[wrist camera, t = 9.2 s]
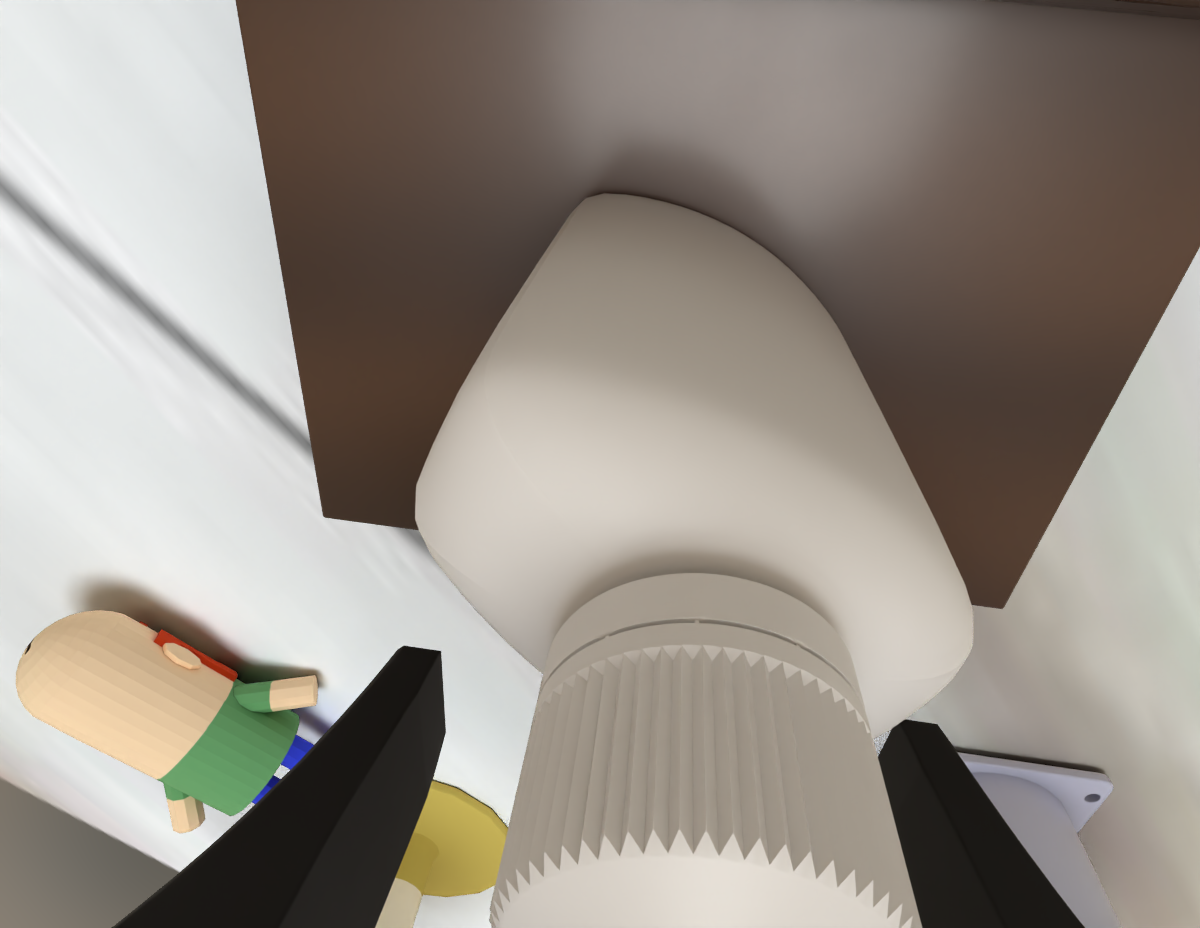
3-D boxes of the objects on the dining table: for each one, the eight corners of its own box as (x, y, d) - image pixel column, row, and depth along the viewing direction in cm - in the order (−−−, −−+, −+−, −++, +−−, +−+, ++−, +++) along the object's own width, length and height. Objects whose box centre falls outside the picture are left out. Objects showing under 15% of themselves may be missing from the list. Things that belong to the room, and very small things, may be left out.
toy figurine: (389, 688, 31) (139, 527, 26) (386, 757, 26) (87, 579, 22) (264, 817, 31) (-6, 681, 26) (242, 906, 27) (-84, 762, 22)
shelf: (937, 488, 20) (1041, 680, 14) (397, 419, 21) (280, 573, 15) (1148, -17, 13) (1507, -55, 8) (351, -87, 14) (113, -172, 8)
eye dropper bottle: (664, 473, 15) (607, 1443, 5) (511, 242, 12) (-258, 1139, 2) (864, 382, 13) (1454, 1552, 3) (730, 99, 11) (1278, 961, 1)
